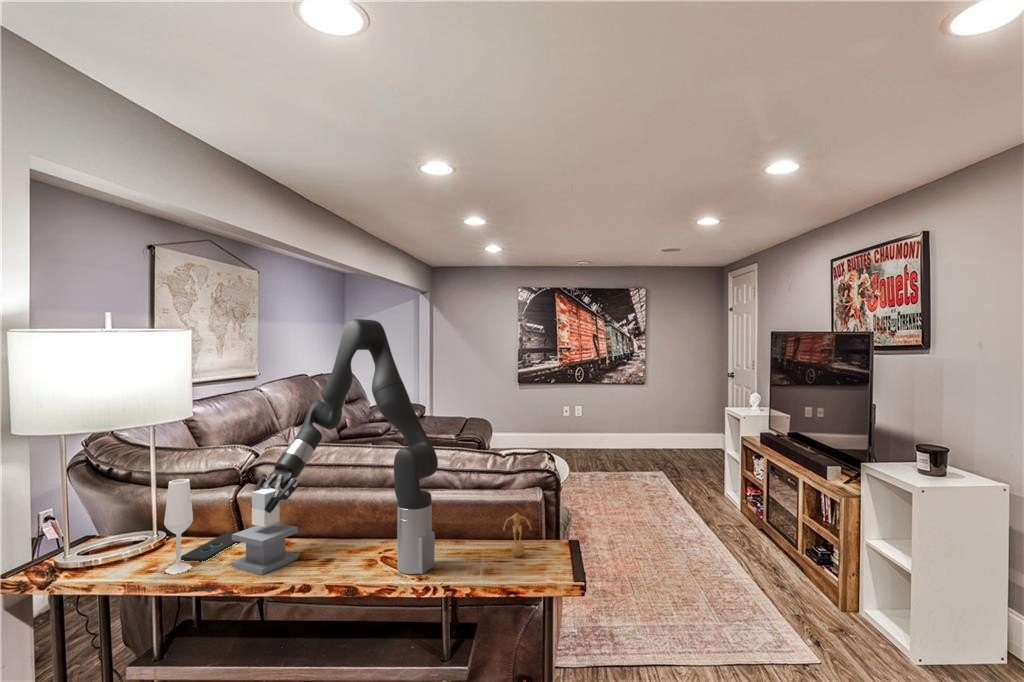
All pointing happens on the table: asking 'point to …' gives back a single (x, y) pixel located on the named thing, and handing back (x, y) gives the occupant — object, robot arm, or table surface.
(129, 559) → the table surface
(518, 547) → the figurine
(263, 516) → the block
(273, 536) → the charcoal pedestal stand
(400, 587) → the table surface
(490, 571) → the table surface
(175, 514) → the champagne flute
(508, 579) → the table surface
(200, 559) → the smart home device
